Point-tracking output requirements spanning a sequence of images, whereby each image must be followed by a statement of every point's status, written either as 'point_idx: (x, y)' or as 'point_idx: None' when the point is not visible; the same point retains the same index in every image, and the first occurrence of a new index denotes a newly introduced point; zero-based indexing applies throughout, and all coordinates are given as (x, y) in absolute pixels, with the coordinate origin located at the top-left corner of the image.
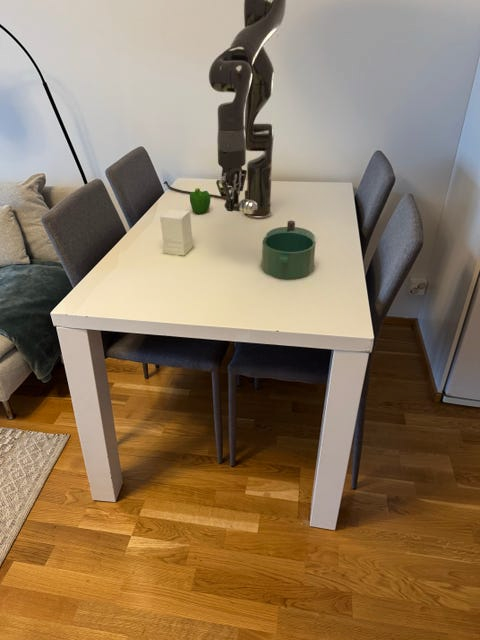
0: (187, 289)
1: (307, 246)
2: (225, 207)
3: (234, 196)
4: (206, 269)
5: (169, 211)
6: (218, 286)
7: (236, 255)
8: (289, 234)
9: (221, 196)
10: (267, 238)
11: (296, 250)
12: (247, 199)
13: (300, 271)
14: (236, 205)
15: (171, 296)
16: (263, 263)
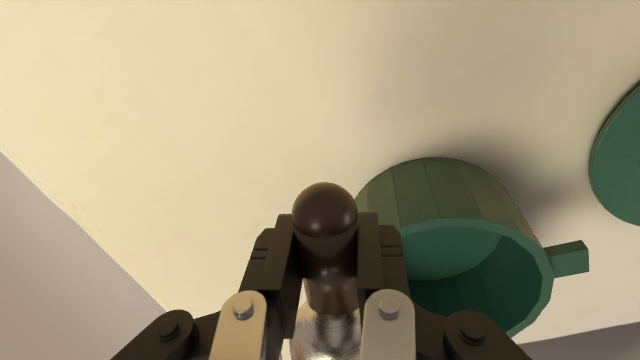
0: (102, 47)
1: (502, 297)
2: (295, 202)
3: (359, 311)
4: (256, 3)
5: None
6: (195, 122)
7: (439, 32)
8: (536, 264)
9: (150, 329)
10: (448, 224)
11: (513, 243)
12: None
13: None
14: (312, 298)
15: (31, 31)
16: (368, 198)
